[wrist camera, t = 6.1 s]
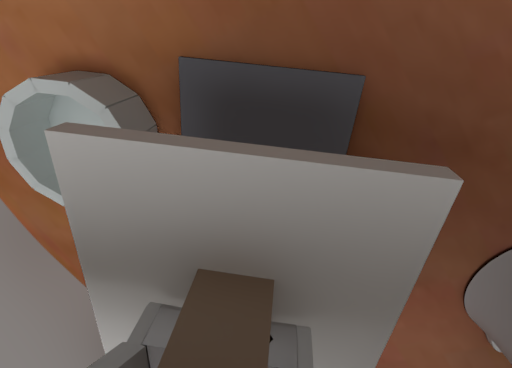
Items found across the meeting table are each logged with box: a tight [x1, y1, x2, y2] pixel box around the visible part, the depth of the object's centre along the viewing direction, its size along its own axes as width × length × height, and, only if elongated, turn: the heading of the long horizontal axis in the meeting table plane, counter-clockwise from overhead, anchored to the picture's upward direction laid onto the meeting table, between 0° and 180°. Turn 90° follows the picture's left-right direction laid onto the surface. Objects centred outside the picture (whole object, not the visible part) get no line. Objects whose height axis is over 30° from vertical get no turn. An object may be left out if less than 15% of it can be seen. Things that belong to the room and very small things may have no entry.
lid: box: [44, 122, 464, 368], centre depth 10 cm, size 13×13×5 cm
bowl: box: [0, 71, 157, 206], centre depth 25 cm, size 11×11×5 cm
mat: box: [179, 57, 366, 155], centre depth 26 cm, size 15×15×1 cm
